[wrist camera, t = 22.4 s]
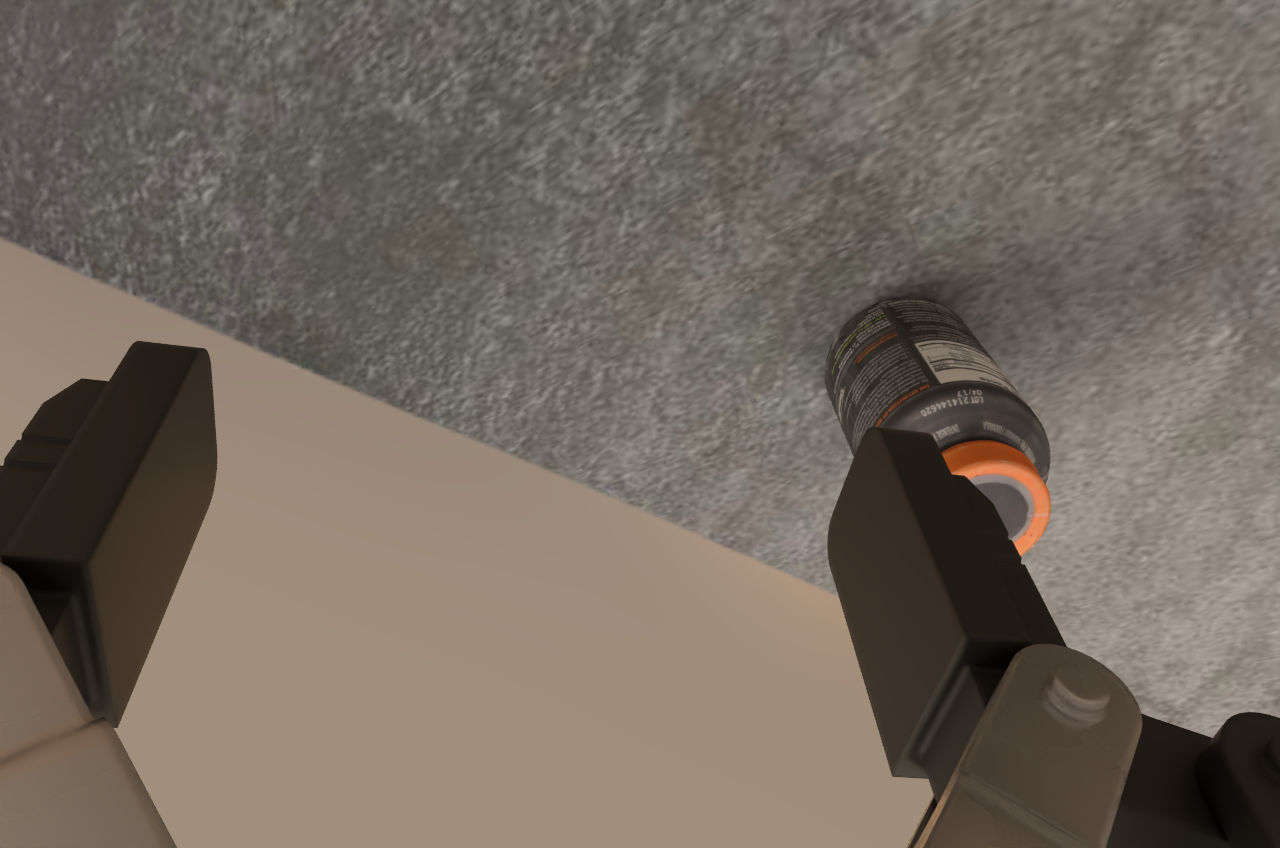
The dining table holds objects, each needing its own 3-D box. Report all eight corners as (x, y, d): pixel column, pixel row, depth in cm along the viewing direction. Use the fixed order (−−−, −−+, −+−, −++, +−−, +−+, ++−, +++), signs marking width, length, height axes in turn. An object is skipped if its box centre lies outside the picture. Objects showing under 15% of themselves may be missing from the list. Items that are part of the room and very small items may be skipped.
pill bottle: (856, 451, 43) (926, 626, 33) (798, 335, 41) (856, 486, 31) (993, 390, 42) (1109, 553, 32) (943, 266, 39) (1052, 401, 29)
